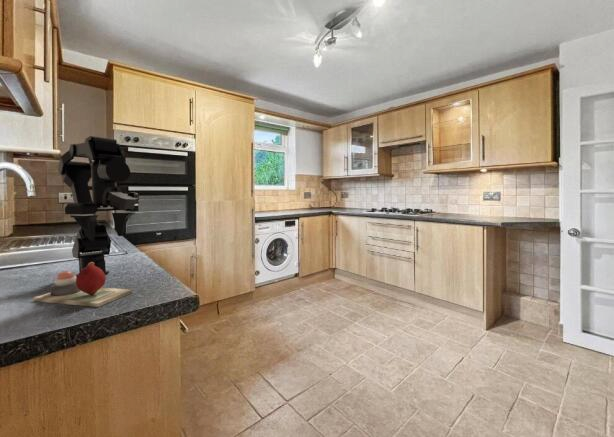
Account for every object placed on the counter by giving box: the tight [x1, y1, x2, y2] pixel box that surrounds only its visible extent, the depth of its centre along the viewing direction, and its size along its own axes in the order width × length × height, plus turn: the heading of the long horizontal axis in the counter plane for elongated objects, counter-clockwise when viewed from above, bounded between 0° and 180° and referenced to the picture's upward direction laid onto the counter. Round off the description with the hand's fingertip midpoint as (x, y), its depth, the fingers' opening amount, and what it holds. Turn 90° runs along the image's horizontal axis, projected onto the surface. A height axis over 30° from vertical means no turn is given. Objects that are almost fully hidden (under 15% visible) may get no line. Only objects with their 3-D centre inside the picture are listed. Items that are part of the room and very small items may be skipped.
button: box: [54, 270, 77, 287], centre depth 73 cm, size 4×4×3 cm
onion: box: [76, 262, 107, 295], centre depth 71 cm, size 6×6×8 cm
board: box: [32, 283, 133, 308], centre depth 73 cm, size 18×10×3 cm, turn 79°
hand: (106, 238), depth 83 cm, fingers open, 9 cm apart
